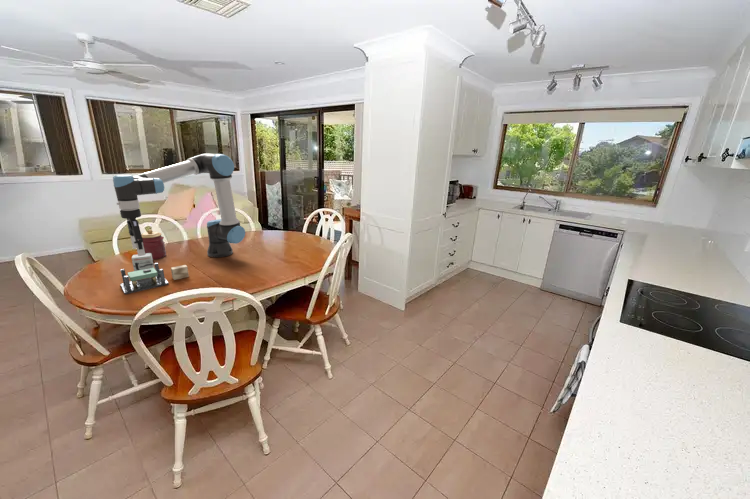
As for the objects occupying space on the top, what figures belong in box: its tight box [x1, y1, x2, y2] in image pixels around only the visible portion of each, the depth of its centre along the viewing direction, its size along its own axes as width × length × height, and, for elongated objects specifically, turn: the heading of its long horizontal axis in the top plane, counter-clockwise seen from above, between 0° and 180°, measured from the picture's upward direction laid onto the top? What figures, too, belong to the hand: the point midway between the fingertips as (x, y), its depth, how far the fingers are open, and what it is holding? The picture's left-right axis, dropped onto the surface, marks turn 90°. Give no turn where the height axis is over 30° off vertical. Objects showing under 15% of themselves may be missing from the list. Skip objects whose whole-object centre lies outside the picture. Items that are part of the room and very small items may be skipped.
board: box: [127, 267, 158, 282], centre depth 155 cm, size 11×8×3 cm
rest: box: [170, 264, 190, 281], centre depth 167 cm, size 7×3×6 cm, turn 135°
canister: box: [139, 229, 167, 260], centre depth 193 cm, size 13×13×18 cm
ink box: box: [131, 253, 155, 271], centre depth 166 cm, size 8×5×12 cm, turn 123°
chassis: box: [119, 262, 170, 295], centre depth 156 cm, size 18×13×8 cm
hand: (139, 251), depth 152 cm, fingers open, 13 cm apart
